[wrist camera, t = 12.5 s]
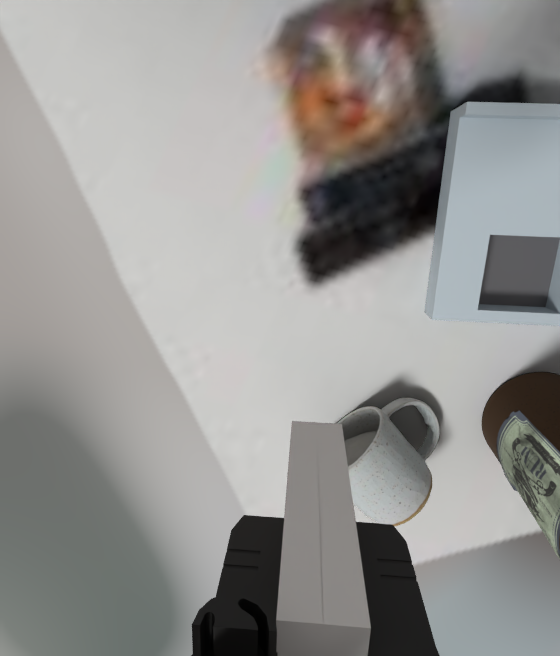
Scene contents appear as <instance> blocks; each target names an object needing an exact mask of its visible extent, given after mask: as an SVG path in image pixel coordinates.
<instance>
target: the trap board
mask: <svg viewBox="0 0 560 656" xmlns="http://www.w3.org/2000/svg"><path fill="white" fill-rule="evenodd" d="M425 313H426V314H427V315H428V316H429V317H430V318H431V319H432V320H446V321H467V322H487V323H507V324H528V325H548V326H560V104H541V103H499V102H466V103H464V104H463V105H461V106H459V107H458V108H456V109H454V110H453V111H451V114H450V122H449V129H448V137H447V145H446V152H445V160H444V167H443V175H442V183H441V190H440V198H439V206H438V213H437V221H436V229H435V236H434V244H433V251H432V259H431V267H430V274H429V282H428V290H427V297H426V305H425Z"/></svg>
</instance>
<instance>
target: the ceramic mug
mask: <svg viewBox="0 0 560 656" xmlns="http://www.w3.org/2000/svg"><path fill="white" fill-rule="evenodd" d="M407 405H414V406H416V408H417V409H418V410H419V412H420V413H421V414H422V416H423V418H424V422H425V423H426V424H427V425H428V431H427V436H426V438H425V440H424V443H423V444H422V445H421V447H420V448H419V449H418V451H416V450H415V449H414V448H413V447H412V446H411V445H410V443H409V442H408V441H407V440H406V439H405V437H404V436H403V435H402V434H401V433H400V431H399V430H398V429H397V428H396V426H395V425H394V424H393V423H392V422H391V421H390V419H389V418H390V416H391V414H393V413H394V412H396V411H397V410H399V409H400V408H403V407H405V406H407ZM337 424H342V429H343V436H344V443H345V450H346V457H347V464H348V471H349V478H350V485H351V492H352V499H353V504H354V505H355V506H356V507H357V508H358V509H359V510H360V511H361V512H362V513H363V514H364V515H366V516H367V517H368V518H370V519H371V520H373V521H375V522H376V523H378V524H391V525H393V526H398V525H400V524H403V523H405V522H407V521H409V520H411V519H412V518H413V517H414V516H416V515H417V514H418V513H419V512H420V511H421V510H422V508H423V507H424V506H425V504H426V502H427V500H428V498H429V496H430V492H431V489H432V475H431V473H430V470H429V468H428V467H427V465H426V463H425V460H426V458H428V457H429V456H430V454H431V453H432V452H433V450H434V449H435V447H436V444H437V442H438V439H439V431H440V430H439V422H438V419H437V417H436V415H435V413H434V412H433V410H432V409H431V408H430V407H429V406H428V405H427V404H426V403H425V402H423V401H420V400H417V399H413V398H399V399H396V400H394V401H392V402H391V403H389V404H388V405H386V406H385V407H383V408H382V409H379V408H377V407H374V406H366V407H363V408H359V409H357V410H355V411H353V412H351V413H350V414H348V415H347V416H345V417H344V418H343V419H341V420H340V421H339V422H338V423H337Z"/></svg>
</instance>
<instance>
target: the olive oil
mask: <svg viewBox="0 0 560 656" xmlns="http://www.w3.org/2000/svg"><path fill="white" fill-rule="evenodd" d="M482 431H483V434H484V437H485V440H486V442H487V444H488V445H489V447H490V448H491V450H492V451H493V453H494V454H495V456H496V458H497V459H498V461H499V462H500V464H501V465H502V469H503V470H504V473H505V474H504V475H505V476H506V478H507V479H508V481H509V483H510V484H511V486H512V487H513V489H514V490H515V491H518V492H519V494H520V495H521V497H522V499H523V500H524V502H525V503H526V505H527V507H528V508H529V510H530V512H531V513H532V515H533V516H534V518H535V520H536V521H537V523H538V525H539V526H540V528H541V529H542V531H543V533H544V534H545V536H546V538H547V539H548V541H549V543H550V544H551V546H552V548H553V549H554V551H555V553H556V554H557V556H558V558H559V559H560V375H558V374H554V373H548V372H534V373H528V374H524V375H521V376H518V377H516V378H513V379H511V380H510V381H508V382H506V383H505V384H503V385H502V386H501V387H500V388H498V389H497V390H496V391H495V392H494V394H493V395H492V396H491V397H490V399H489V400H488V402H487V404H486V406H485V409H484V412H483V416H482Z"/></svg>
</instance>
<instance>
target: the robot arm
mask: <svg viewBox="0 0 560 656" xmlns="http://www.w3.org/2000/svg"><path fill="white" fill-rule="evenodd" d="M192 638H193V639H192V640H193V655H192V656H439V654H438V651H437V649H436V646H435V642H434V639H433V635H432V632H431V628H430V625H429V621H428V618H427V614H426V611H425V607H424V603H423V600H422V596H421V593H420V589H419V586H418V582H417V581H416V575H415V571H414V568H413V565H412V561H411V557H410V553H409V550H408V546H407V543H406V541H405V540H404V538H403V537H402V536H401V534H400V533H399V532H398V531H397V529H396V528H395V527H394V526H393V525H391V524H378V523H364V522H356V520H355V513H354V506H353V499H352V492H351V485H350V478H349V471H348V464H347V457H346V450H345V443H344V436H343V429H342V424H332V423H315V422H299V421H292V427H291V440H290V452H289V465H288V478H287V490H286V503H285V515H284V518H275V517H261V516H248V515H244V516H243V517H242V518H241V519H240V520H239V522H238V523H237V524H236V525H235V527H234V528H233V529H232V530H231V535H230V539H229V543H228V548H227V553H226V556H225V560H224V566H223V569H222V573H221V577H220V581H219V586H218V590H217V594H216V597H215V598H213V599H211V600H210V601H208V602H207V603H206V604H205V605H204V606H203V607H202V608H201V609H200V610H199V611H198V613H197V615H196V618H195V620H194V622H193V624H192Z"/></svg>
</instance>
